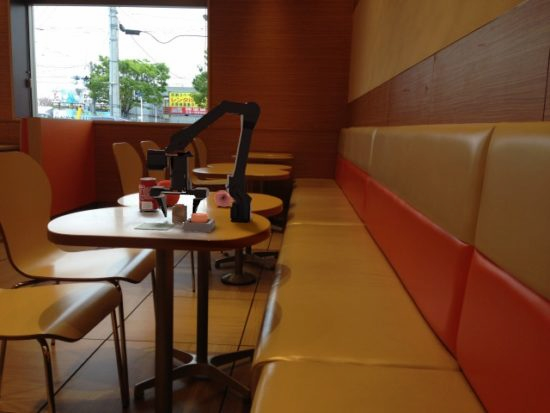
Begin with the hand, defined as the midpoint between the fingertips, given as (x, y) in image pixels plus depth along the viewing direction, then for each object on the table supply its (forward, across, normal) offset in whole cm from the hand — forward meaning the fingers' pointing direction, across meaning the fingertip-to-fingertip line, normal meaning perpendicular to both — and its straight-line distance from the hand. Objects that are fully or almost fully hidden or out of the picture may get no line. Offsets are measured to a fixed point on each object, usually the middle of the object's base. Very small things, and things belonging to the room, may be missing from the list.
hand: (179, 217), depth 150 cm
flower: (+1, -9, -33) cm, 35 cm away
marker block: (+1, 0, 0) cm, 1 cm away
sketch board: (+1, +5, +10) cm, 11 cm away
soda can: (+1, +16, -17) cm, 23 cm away
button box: (+1, -9, +11) cm, 14 cm away
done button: (-1, -9, +11) cm, 14 cm away
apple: (+1, +13, -30) cm, 33 cm away
